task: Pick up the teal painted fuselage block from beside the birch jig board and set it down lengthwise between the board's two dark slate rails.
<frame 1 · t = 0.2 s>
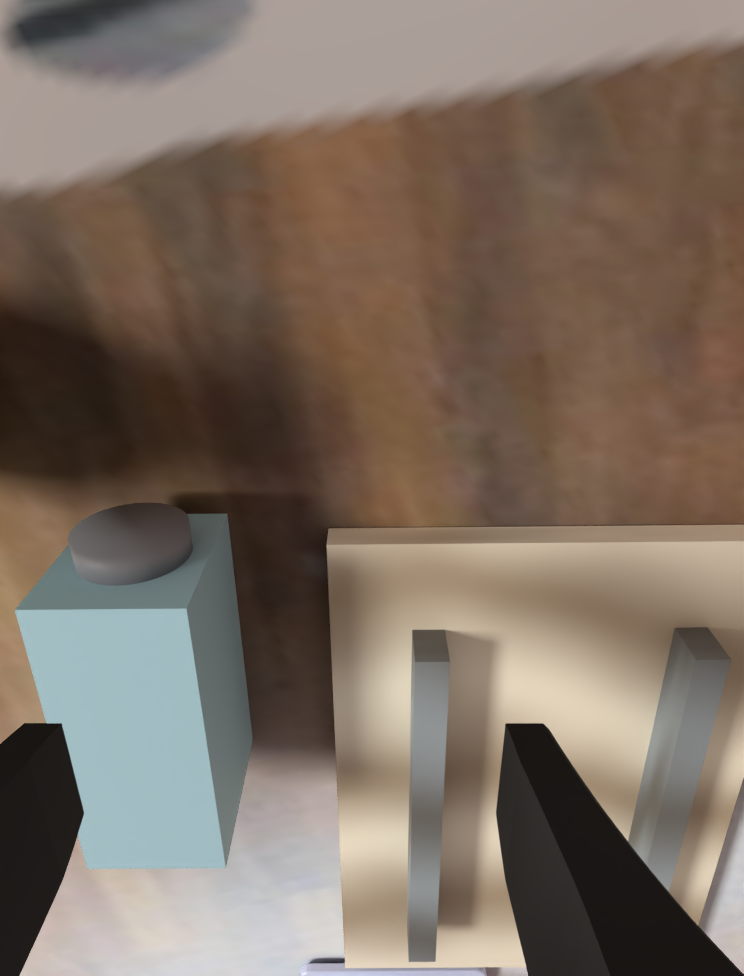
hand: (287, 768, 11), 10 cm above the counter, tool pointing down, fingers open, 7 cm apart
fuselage: (181, 634, 22), on the counter
jig board: (532, 770, 24), on the counter
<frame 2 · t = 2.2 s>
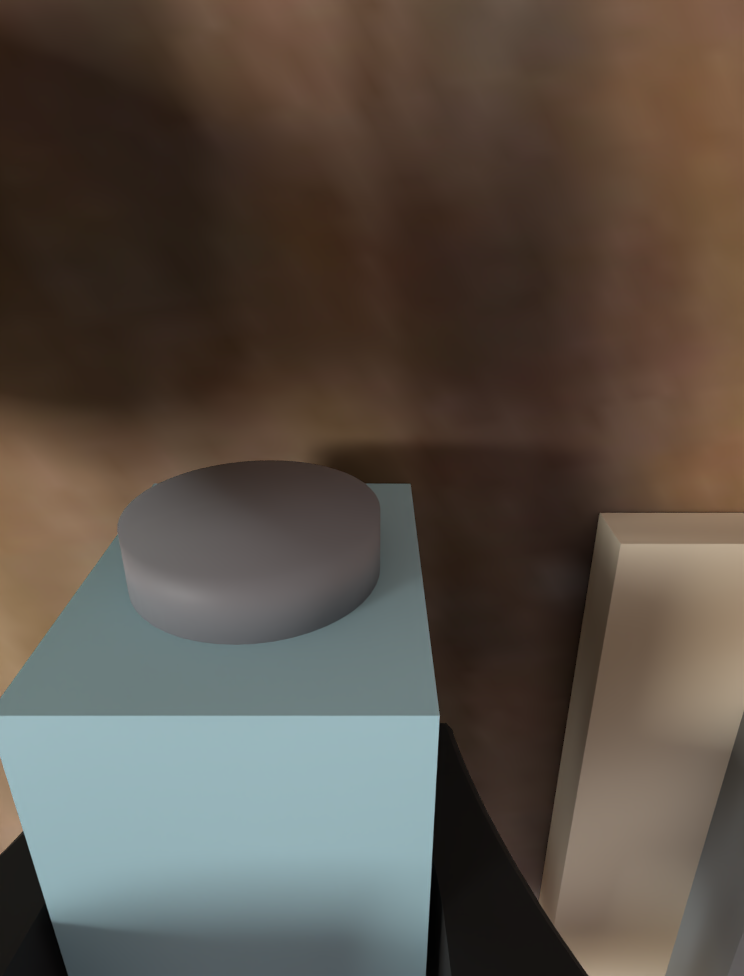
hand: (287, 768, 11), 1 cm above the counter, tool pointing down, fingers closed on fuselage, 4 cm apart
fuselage: (295, 706, 12), on the counter, touching gripper
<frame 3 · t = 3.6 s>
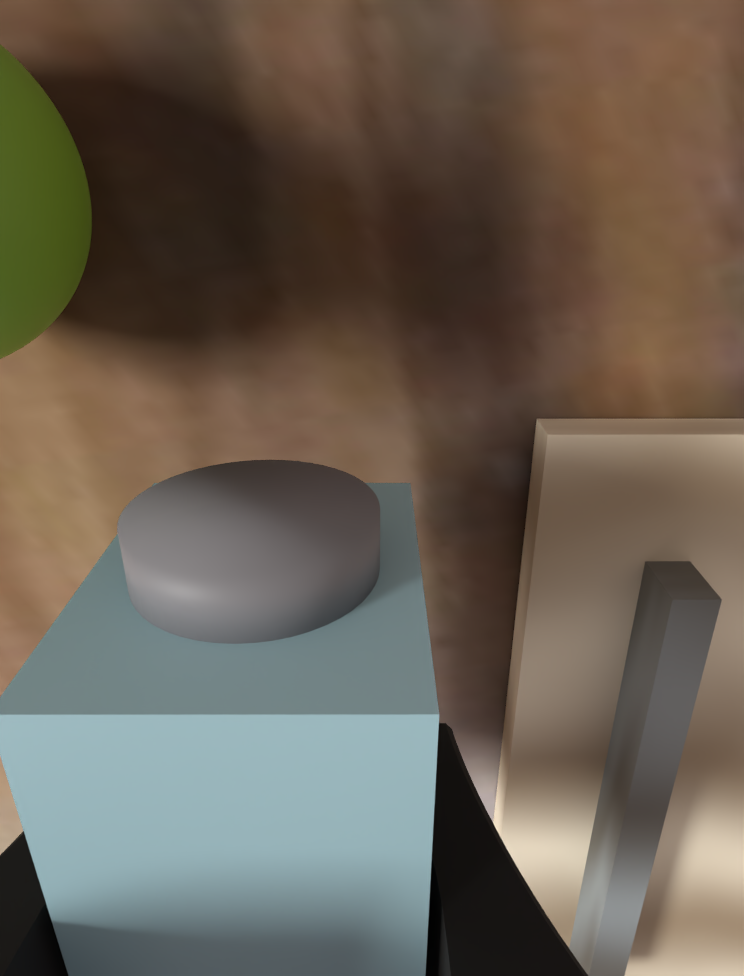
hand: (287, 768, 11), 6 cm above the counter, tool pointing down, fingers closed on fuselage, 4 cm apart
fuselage: (295, 706, 12), point 4 cm above the counter, touching gripper
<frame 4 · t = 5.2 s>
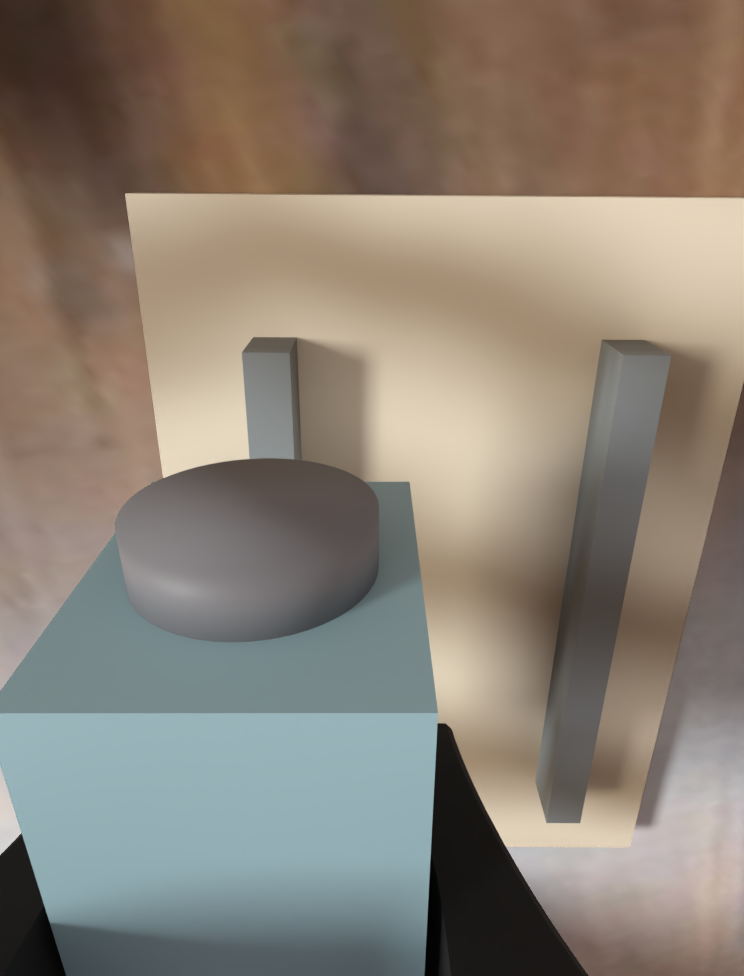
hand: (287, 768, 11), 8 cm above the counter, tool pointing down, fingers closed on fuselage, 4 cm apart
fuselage: (295, 705, 12), point 7 cm above the counter, touching gripper
jig board: (432, 575, 19), on the counter
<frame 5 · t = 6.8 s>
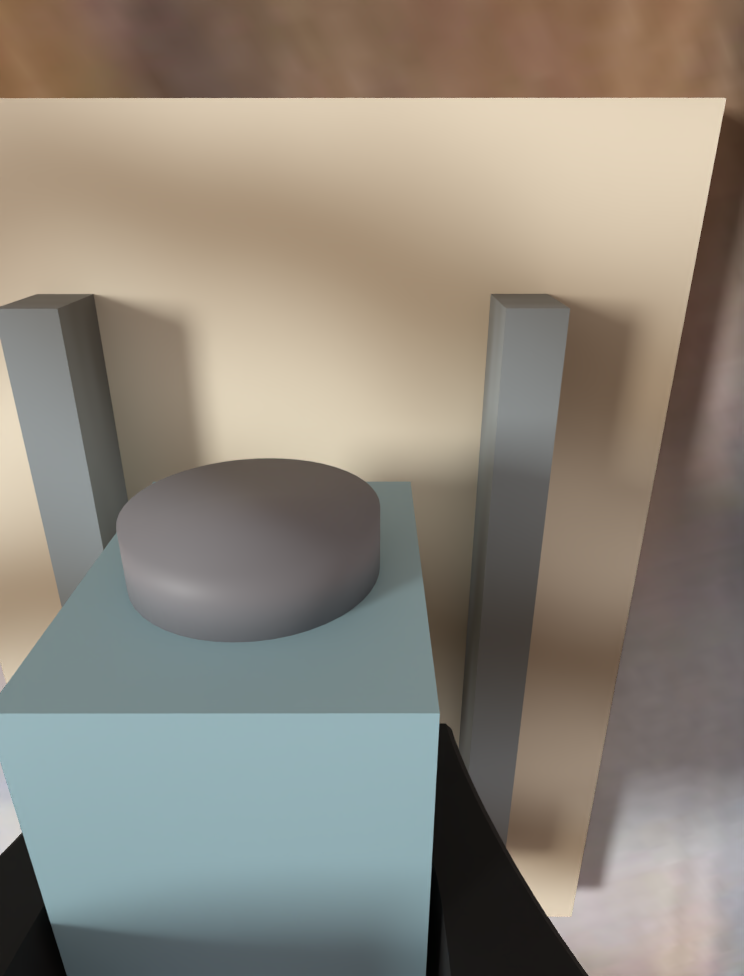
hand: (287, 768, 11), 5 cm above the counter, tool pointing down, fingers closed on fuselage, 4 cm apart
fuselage: (295, 705, 12), point 4 cm above the counter, touching gripper
jig board: (311, 596, 16), on the counter
when the fingers open (4 cm above the counter, at t = 7.9 s): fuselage drops 1 cm, resting on jig board.
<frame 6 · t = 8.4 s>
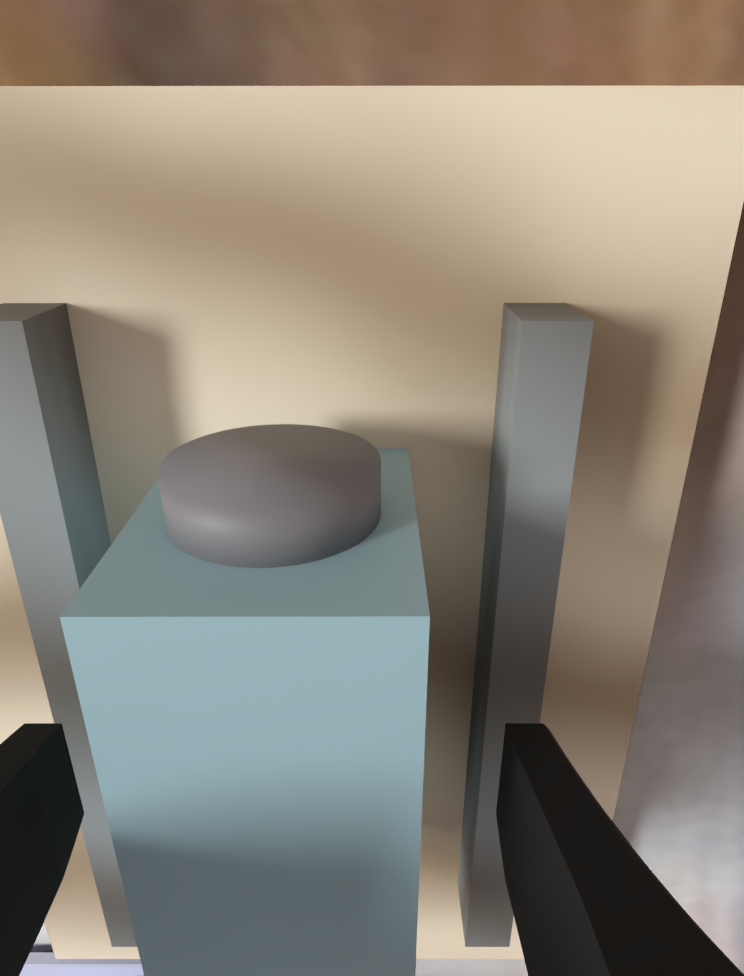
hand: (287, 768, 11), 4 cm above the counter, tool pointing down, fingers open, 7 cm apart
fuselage: (304, 655, 14), point 1 cm above the counter, touching jig board
jig board: (307, 625, 15), on the counter
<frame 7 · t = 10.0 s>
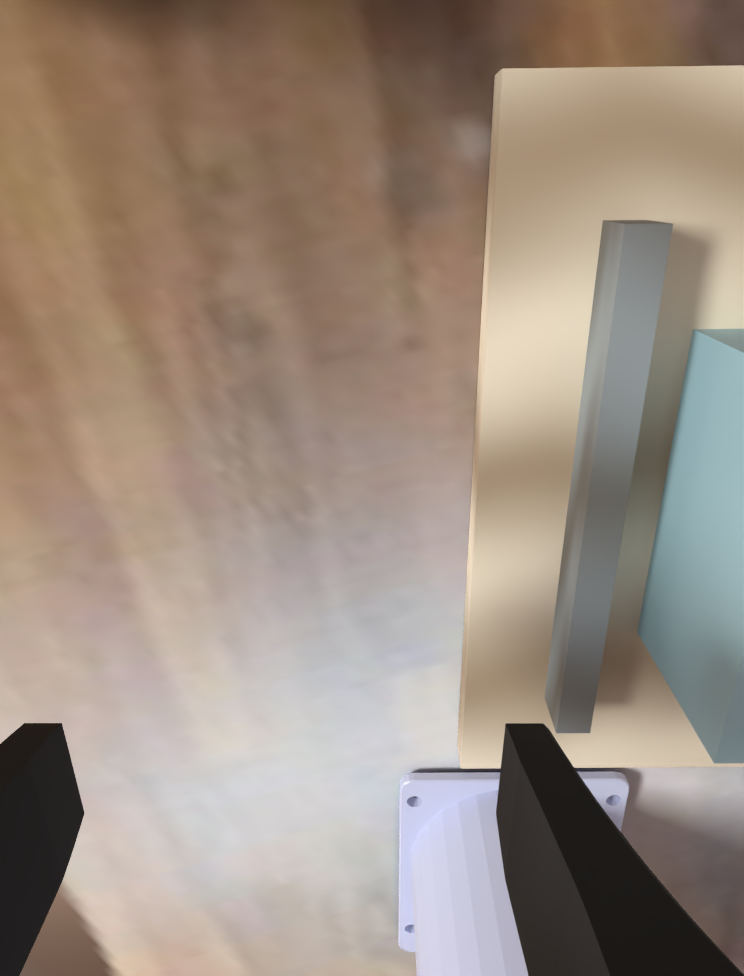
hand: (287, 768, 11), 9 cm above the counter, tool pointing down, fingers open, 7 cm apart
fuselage: (736, 495, 18), point 1 cm above the counter, touching jig board
jig board: (717, 480, 19), on the counter
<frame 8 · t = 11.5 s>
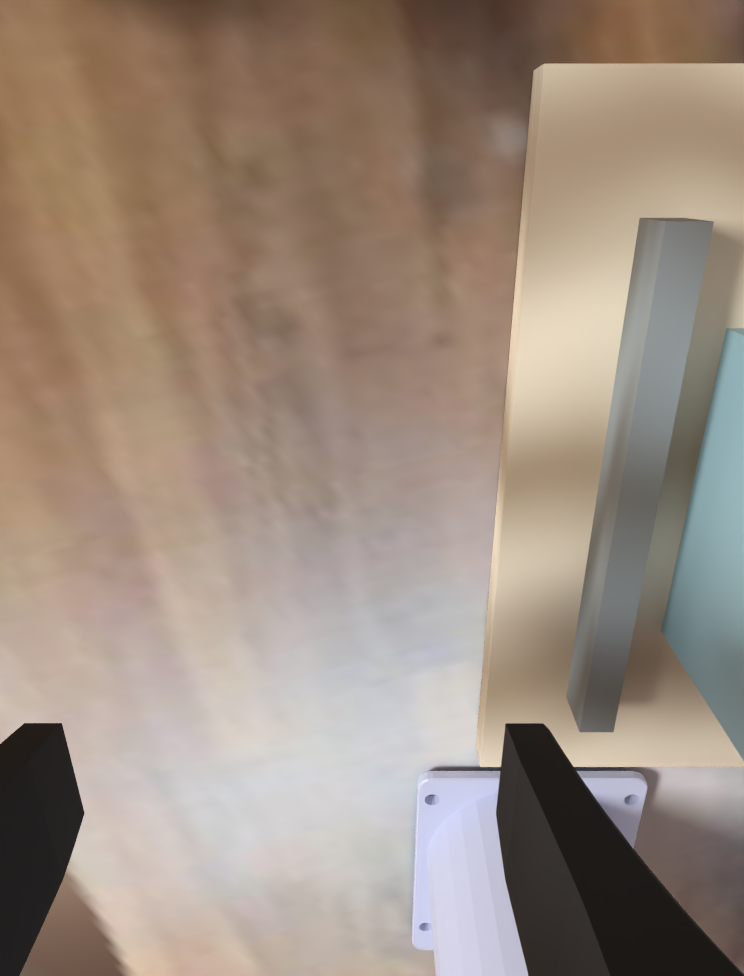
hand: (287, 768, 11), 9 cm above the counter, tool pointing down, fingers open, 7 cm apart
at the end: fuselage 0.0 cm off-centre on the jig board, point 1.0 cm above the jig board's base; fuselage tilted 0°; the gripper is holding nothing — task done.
